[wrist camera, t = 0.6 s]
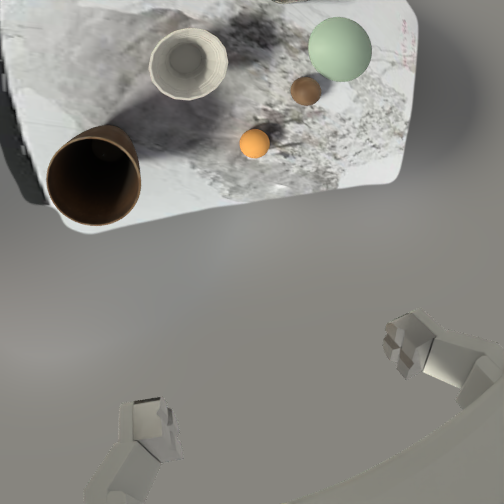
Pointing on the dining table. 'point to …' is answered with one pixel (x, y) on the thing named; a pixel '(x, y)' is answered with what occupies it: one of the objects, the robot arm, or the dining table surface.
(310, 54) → the sage mark
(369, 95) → the dining table surface
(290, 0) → the supplement container
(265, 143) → the orange ball
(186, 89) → the plastic cup
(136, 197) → the plant pot
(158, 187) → the dining table surface
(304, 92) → the walnut ball
